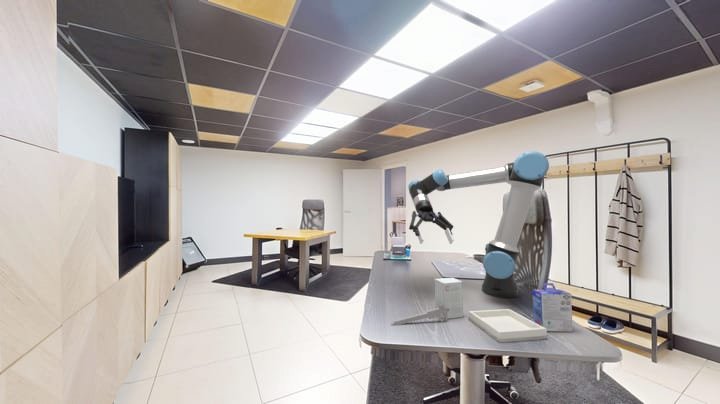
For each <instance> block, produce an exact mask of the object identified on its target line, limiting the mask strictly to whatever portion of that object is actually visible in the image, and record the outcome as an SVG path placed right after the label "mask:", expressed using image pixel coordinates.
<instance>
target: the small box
mask: <svg viewBox="0 0 720 404" xmlns="http://www.w3.org/2000/svg"><path fill="white" fill-rule="evenodd" d="M463 284H464V283H463V281H462V280H460V279H457V278H455V277H442V278H441V277H440V278H434V300H435V301H434V309H436V308H439V309H440V307H439V305H440V306H441V307H442V304H443V305H444V306H445V307H446V309H447V317H448V319H449V320H450V319H456V318H463V317H464V294H463V293H464V290H463V288H464V287H463V286H464V285H463ZM441 316H442V320H445V319H444V315H443V313H442V314H441ZM448 319H447V320H448Z"/></svg>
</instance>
